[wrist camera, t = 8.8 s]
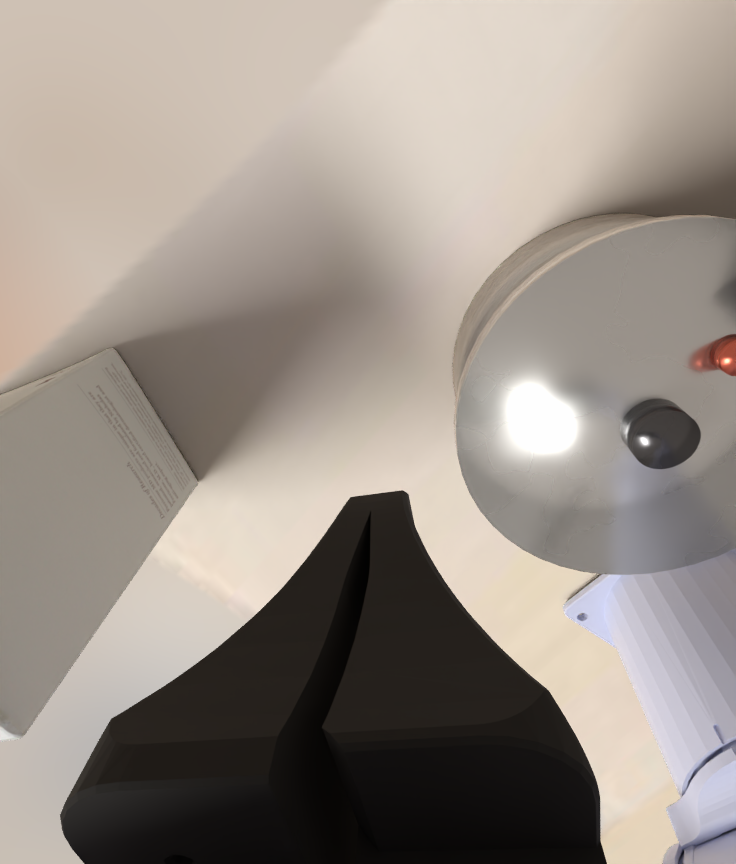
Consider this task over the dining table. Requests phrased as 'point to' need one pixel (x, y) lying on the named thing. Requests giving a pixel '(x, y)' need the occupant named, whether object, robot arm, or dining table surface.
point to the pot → (525, 275)
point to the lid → (611, 402)
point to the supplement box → (74, 518)
